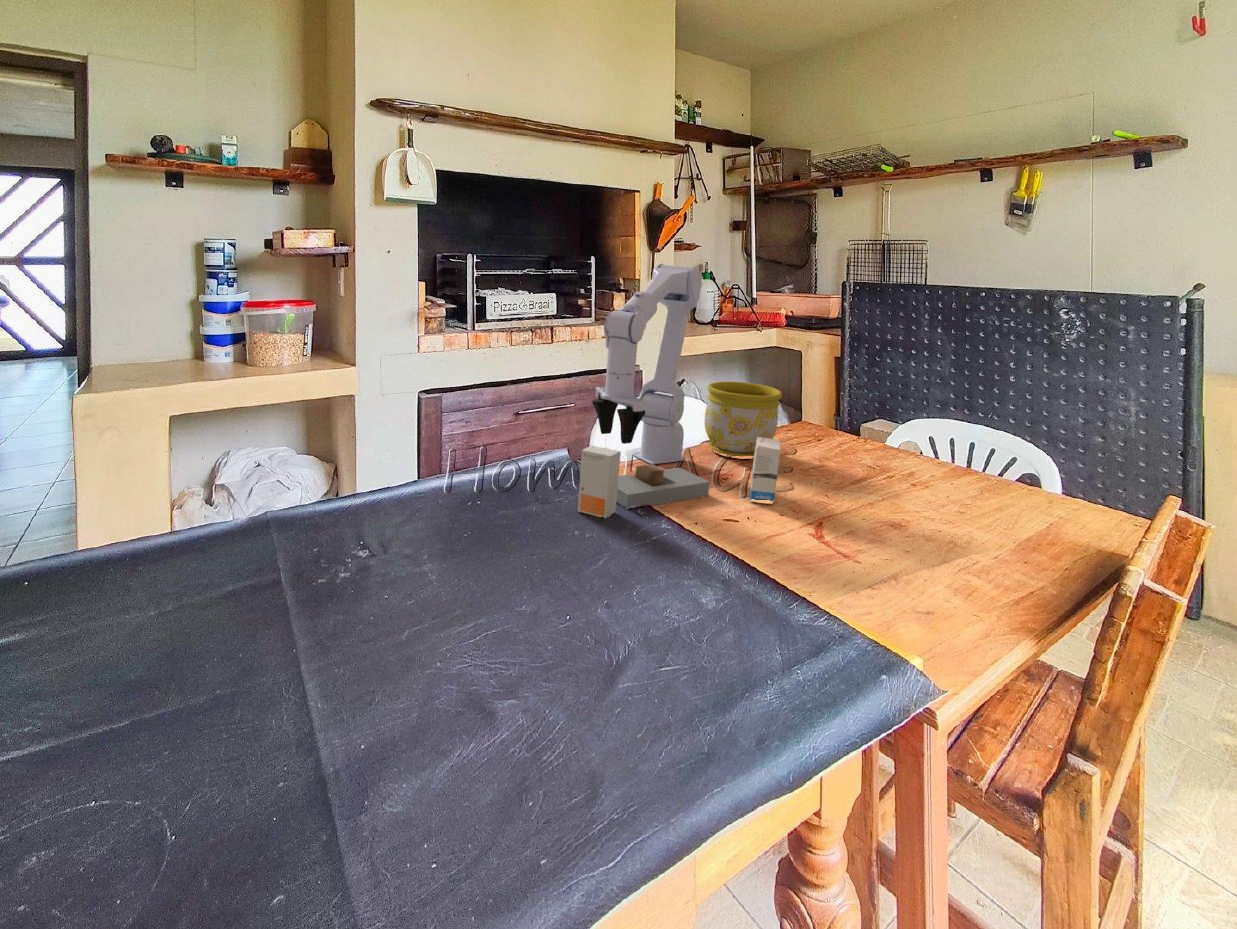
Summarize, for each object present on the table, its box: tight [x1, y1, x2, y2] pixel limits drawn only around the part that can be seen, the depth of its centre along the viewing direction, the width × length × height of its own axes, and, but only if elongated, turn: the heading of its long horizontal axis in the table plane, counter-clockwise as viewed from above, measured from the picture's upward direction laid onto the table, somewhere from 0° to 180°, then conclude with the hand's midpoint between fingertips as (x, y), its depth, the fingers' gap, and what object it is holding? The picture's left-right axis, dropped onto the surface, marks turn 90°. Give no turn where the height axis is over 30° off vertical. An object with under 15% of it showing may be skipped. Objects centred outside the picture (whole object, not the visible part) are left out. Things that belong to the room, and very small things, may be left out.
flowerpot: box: [703, 381, 783, 456], centre depth 170 cm, size 18×18×16 cm
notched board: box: [616, 467, 711, 507], centre depth 138 cm, size 20×10×3 cm, turn 123°
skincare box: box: [577, 445, 622, 519], centre depth 124 cm, size 6×4×12 cm
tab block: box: [634, 464, 665, 487], centre depth 139 cm, size 4×4×5 cm
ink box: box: [749, 437, 782, 501], centre depth 139 cm, size 9×5×12 cm, turn 168°
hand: (615, 438), depth 141 cm, fingers open, 7 cm apart
